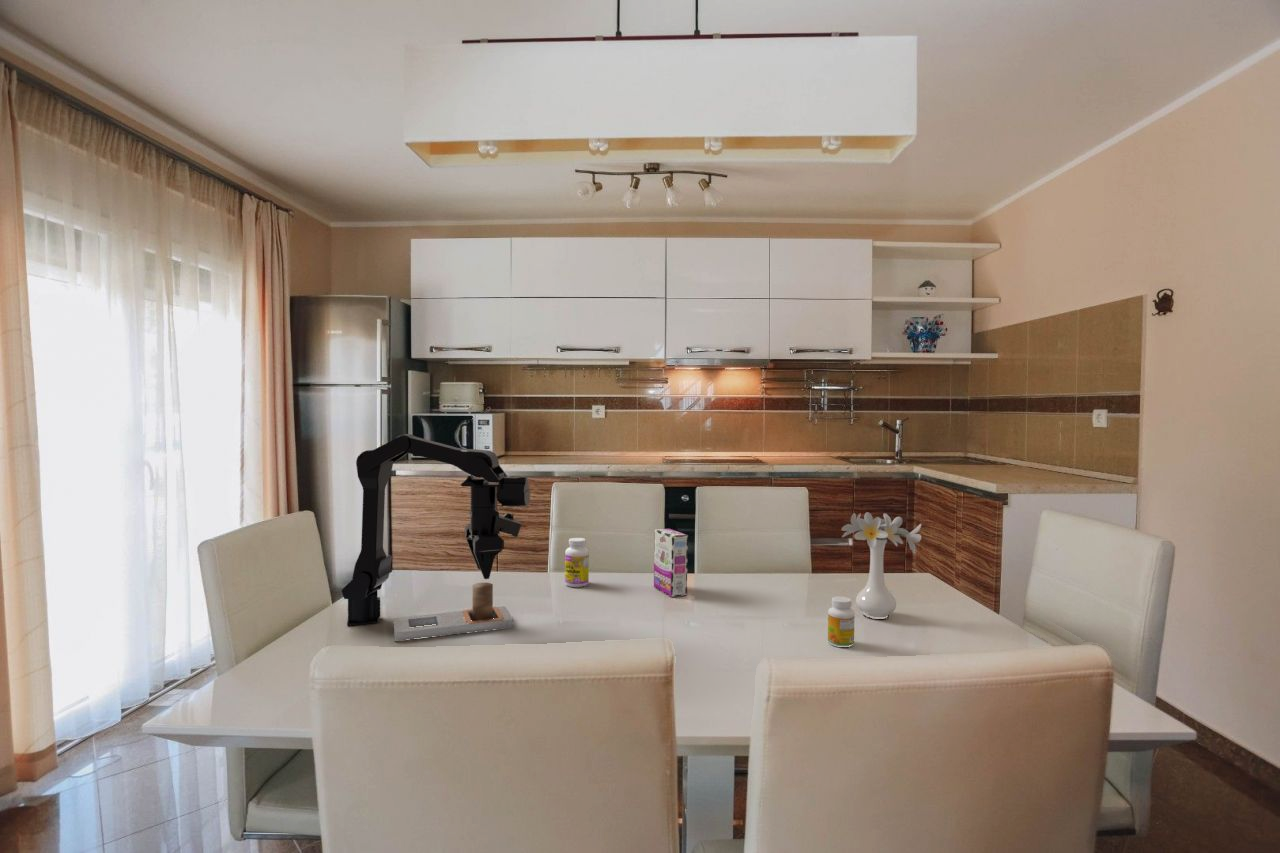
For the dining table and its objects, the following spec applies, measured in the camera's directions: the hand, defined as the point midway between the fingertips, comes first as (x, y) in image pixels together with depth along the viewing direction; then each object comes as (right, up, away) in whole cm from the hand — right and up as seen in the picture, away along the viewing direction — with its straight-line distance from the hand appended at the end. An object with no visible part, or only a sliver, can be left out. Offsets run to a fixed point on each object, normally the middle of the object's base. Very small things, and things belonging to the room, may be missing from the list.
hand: (483, 573), depth 148 cm
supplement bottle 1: (+18, -11, +34) cm, 40 cm away
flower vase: (+94, -13, +9) cm, 95 cm away
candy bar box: (+44, -12, +28) cm, 53 cm away
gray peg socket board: (-6, -12, -2) cm, 13 cm away
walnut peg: (0, -12, 0) cm, 12 cm away
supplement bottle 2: (+79, -13, -10) cm, 80 cm away
